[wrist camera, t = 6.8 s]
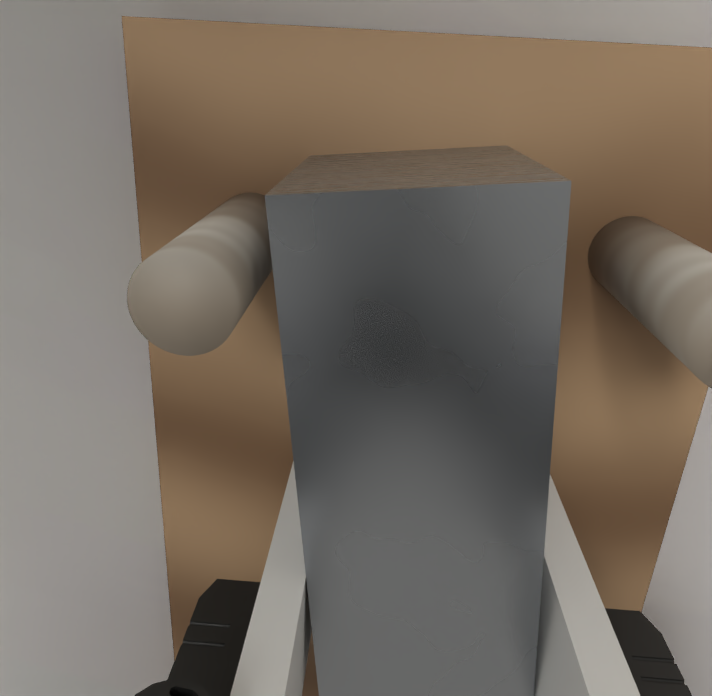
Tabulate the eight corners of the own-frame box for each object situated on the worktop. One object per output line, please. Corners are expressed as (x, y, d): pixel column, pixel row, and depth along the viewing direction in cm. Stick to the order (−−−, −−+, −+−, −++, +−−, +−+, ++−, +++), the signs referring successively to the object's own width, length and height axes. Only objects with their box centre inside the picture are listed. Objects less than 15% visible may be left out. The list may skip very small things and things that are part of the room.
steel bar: (309, 155, 13) (264, 195, 8) (506, 145, 13) (571, 180, 8) (353, 705, 19) (341, 902, 15) (487, 706, 19) (517, 907, 14)
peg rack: (144, 21, 13) (-43, -25, 8) (772, 55, 13) (1072, 33, 7) (191, 694, 21) (116, 921, 15) (584, 728, 21) (657, 973, 15)
